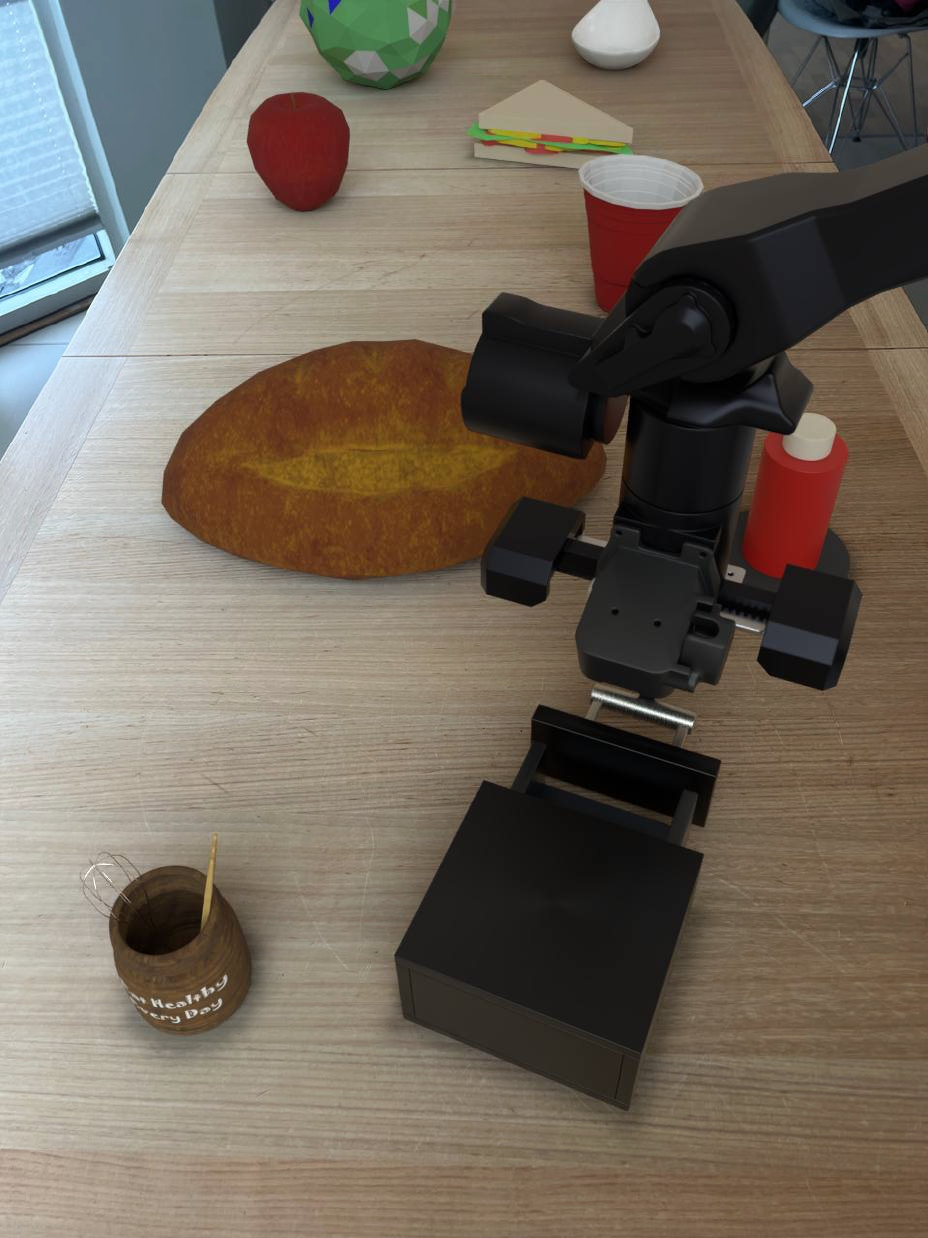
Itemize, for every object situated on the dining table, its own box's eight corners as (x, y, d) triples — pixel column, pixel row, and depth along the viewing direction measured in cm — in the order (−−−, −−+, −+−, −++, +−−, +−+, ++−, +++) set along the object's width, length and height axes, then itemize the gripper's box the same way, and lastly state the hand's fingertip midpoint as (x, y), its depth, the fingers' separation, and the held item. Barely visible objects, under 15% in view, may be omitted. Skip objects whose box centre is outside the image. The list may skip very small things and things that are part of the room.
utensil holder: (144, 932, 56) (79, 798, 47) (265, 925, 56) (222, 789, 47) (125, 1045, 51) (50, 919, 43) (256, 1036, 52) (207, 910, 43)
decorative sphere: (412, 143, 143) (280, 67, 131) (390, 64, 154) (265, -13, 142) (499, 17, 131) (362, -79, 119) (468, -59, 142) (340, -153, 130)
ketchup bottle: (824, 539, 75) (861, 412, 67) (810, 587, 71) (847, 458, 64) (750, 521, 76) (778, 395, 69) (733, 567, 73) (760, 439, 65)
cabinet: (484, 848, 59) (483, 779, 54) (687, 921, 55) (704, 853, 51) (402, 1019, 52) (393, 955, 47) (628, 1112, 49) (641, 1054, 44)
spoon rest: (652, 80, 140) (658, 20, 135) (564, 76, 143) (566, 16, 137) (668, 24, 157) (674, -32, 152) (589, 20, 159) (591, -35, 154)
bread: (190, 427, 87) (155, 287, 79) (588, 411, 88) (598, 270, 79) (146, 608, 73) (98, 460, 64) (626, 586, 73) (643, 437, 64)
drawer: (560, 704, 65) (564, 651, 61) (727, 755, 62) (740, 702, 58) (473, 888, 56) (471, 838, 53) (662, 958, 53) (673, 910, 50)
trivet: (857, 535, 76) (860, 527, 76) (834, 624, 70) (837, 616, 69) (724, 504, 79) (726, 495, 78) (691, 587, 73) (692, 578, 72)
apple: (371, 212, 115) (362, 98, 107) (277, 234, 112) (260, 118, 103) (334, 175, 122) (322, 65, 114) (245, 194, 119) (226, 83, 110)
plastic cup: (704, 322, 97) (724, 192, 89) (590, 337, 96) (599, 207, 87) (664, 267, 105) (679, 142, 96) (558, 280, 103) (563, 155, 95)
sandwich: (562, 203, 115) (563, 156, 112) (449, 149, 126) (448, 105, 123) (661, 163, 122) (666, 118, 118) (546, 115, 133) (548, 73, 129)
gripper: (430, 530, 48) (442, 746, 59) (859, 647, 42) (783, 860, 53) (521, 398, 55) (517, 613, 66) (898, 483, 49) (824, 702, 60)
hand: (649, 692), depth 61 cm, fingers closed, pressing on drawer
